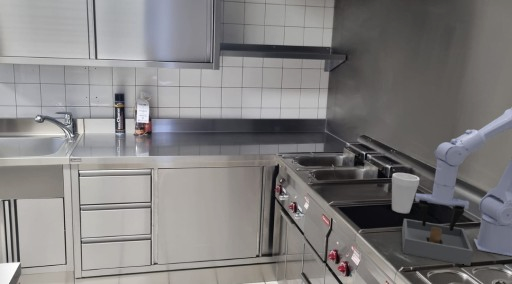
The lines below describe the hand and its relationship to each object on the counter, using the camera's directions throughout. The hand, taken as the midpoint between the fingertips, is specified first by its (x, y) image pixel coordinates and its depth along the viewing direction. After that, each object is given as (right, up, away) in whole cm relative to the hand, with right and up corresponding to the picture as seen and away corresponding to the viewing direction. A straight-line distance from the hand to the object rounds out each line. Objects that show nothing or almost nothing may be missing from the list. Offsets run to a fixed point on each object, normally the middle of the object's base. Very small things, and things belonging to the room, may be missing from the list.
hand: (437, 227), depth 135 cm
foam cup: (-1, 0, +32) cm, 32 cm away
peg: (-1, -6, +1) cm, 7 cm away
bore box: (-1, -6, +1) cm, 7 cm away
